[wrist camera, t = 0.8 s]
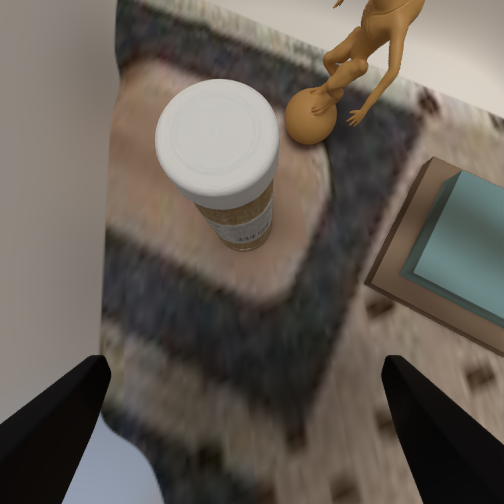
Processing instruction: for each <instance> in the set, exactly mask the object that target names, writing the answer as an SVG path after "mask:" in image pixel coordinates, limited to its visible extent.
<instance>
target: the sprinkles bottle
mask: <svg viewBox="0 0 504 504" xmlns="http://www.w3.org/2000/svg"><path fill="white" fill-rule="evenodd" d="M279 142H280V137H279V127H278V122H277V119H276V116H275V113H274V111H273V109H272V108H271V106H270V105H269V103H268V102H267V100H266V99H265V98H264V97H263V96H262V95H261V94H260V93H258V92H257V91H256V90H254V89H253V88H251V87H249V86H247V85H245V84H243V83H240V82H236V81H232V80H224V79H213V80H207V81H203V82H199V83H197V84H194V85H192V86H189V87H188V88H186V89H184V90H182V91H181V92H180V93H178V94H177V95H176V96H175V97H174V98H173V99H172V100H171V101H170V102H169V103H168V105H167V106H166V107H165V109H164V111H163V112H162V114H161V116H160V119H159V121H158V124H157V128H156V133H155V148H156V153H157V157H158V159H159V162H160V165H161V166H162V168H163V170H164V171H165V173H166V174H167V176H168V177H169V178H170V180H171V181H172V182H173V184H174V185H175V186H176V187H177V189H178V190H179V191H180V192H181V193H182V194H183V195H184V196H185V197H186V198H188V199H189V200H190V201H192V202H194V204H195V205H196V207H197V209H198V210H199V211H200V213H201V214H202V215H203V216H204V218H205V219H206V220H207V222H208V223H209V224H210V226H211V227H212V228H213V229H214V230H215V232H216V233H217V234H218V235H219V237H220V239H221V240H222V242H223V243H224V244H225V245H227V246H228V247H230V248H232V249H234V250H238V251H248V250H253V249H255V248H258V247H259V246H261V245H262V244H263V243H264V242H265V241H266V240H267V238H268V236H269V234H270V232H271V228H272V219H271V218H272V207H273V177H274V175H275V172H276V170H277V166H278V159H279Z"/></svg>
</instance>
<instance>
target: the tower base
mask: <svg viewBox="0 0 504 504" xmlns="http://www.w3.org/2000/svg"><path fill="white" fill-rule="evenodd" d="M364 284H365V285H367V286H369V287H371V288H372V289H374V290H376V291H378V292H380V293H382V294H384V295H386V296H388V297H390V298H391V299H393V300H395V301H397V302H399V303H401V304H403V305H405V306H407V307H409V308H410V309H412V310H414V311H416V312H418V313H420V314H422V315H424V316H426V317H428V318H429V319H431V320H433V321H435V322H437V323H439V324H441V325H443V326H445V327H447V328H449V329H450V330H452V331H454V332H456V333H458V334H460V335H462V336H464V337H466V338H468V339H469V340H471V341H473V342H475V343H477V344H479V345H481V346H483V347H485V348H487V349H488V350H490V351H492V352H494V353H496V354H498V355H500V356H502V357H504V188H502V187H500V186H498V185H495V184H493V183H491V182H489V181H487V180H484V179H482V178H480V177H478V176H476V175H473V174H471V173H469V172H467V171H465V170H463V169H460V168H458V167H456V166H454V165H452V164H449V163H447V162H445V161H443V160H441V159H438V158H436V157H434V156H433V157H432V158H431V159H430V160H428V161H427V162H426V163H425V164H424V165H423V166H422V168H421V170H420V172H419V174H418V176H417V178H416V180H415V182H414V184H413V186H412V188H411V190H410V192H409V194H408V196H407V198H406V200H405V202H404V204H403V206H402V208H401V210H400V212H399V214H398V216H397V218H396V220H395V222H394V224H393V226H392V228H391V230H390V232H389V234H388V236H387V238H386V240H385V242H384V244H383V246H382V248H381V250H380V252H379V254H378V256H377V258H376V260H375V263H374V265H373V267H372V269H371V271H370V273H369V275H368V277H367V279H366V281H365V283H364Z"/></svg>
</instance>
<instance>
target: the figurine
mask: <svg viewBox="0 0 504 504" xmlns="http://www.w3.org/2000/svg"><path fill="white" fill-rule="evenodd" d="M343 1H344V0H338V2H337V3H336V4H335V6H334V7H333V8H335V7H337V6H338V5H339V6H340V5H341V4H342V2H343ZM424 2H425V0H369V1H368V3H367V5H366V6H365V9H364V11H363V16H362V20H361V27H356V28H355V29H354V30H353V32H351V33H350V34H349V36H348V37H347V38H346V39H345V40H344V41H343V42H342V43H340V44H339V45H338V46H336V47H335V48H334V49H333V50H331V51H330V52H327V53H326V54H325V56H324V58H323V64H324V67H325V68H326V69H327V71H328V73H329V74H330V75H331V77H330V78H329V79H328V81H327V82H326V83H325V84H323V85H322V86H320V87H316V88H308V89H304V90H302V91H300V92H298V93H297V94H296V95H295V96H294V97H293V98H292V99H291V100H290V102H289V103H288V105H287V108H286V111H285V126H286V129H287V132H288V133H289V135H290V136H291V137H292V138H293V139H294V140H295V141H297V142H299V143H301V144H306V145H311V144H316V143H318V142H321V141H322V140H324V139H325V138H326V137H327V136H328V135H329V134H330V133H331V131H332V130H333V128H334V126H335V123H336V118H337V110H336V105H335V103H337V102H338V101H339V100H340V99H341V97H342V96H343V93H344V92H343V90H342V88H343V87H345V86H346V85H348V84H349V83H351V82H352V81H354V80H355V79H357V78H358V77H360V76H362V75H364V74H365V73H366V72H367V70H368V63H367V58H368V57H369V56H370V55H371V54H372V53H374V52H375V51H376V50H377V49H378V48H379V47H380V46H382V45H384V44H385V43H386V42H388V41H389V40H390V46H389V68H388V71H387V73H386V74H385V75H384V77H383V78H382V80H381V81H380V83H379V84H378V86H377V87H376V88H375V89H374V90H373V91H372V93H371V94H370V96H369V97H368V99H367V100H366V102H365V104H364V105H363V107H362V108H361V109H360V110H354V111H351V112H350V113H354V114H355V115H354V116H352V117H351V118H350V119H348V120H347V121H346V122H348V121H350V120H352V119H353V121H352V122H351V123H350V124H349V126H350V125H352V124H353V123H355V122H356V124H355V125H354V126H353V127H355V126H356V125H357V124H358V123H359V122H360V121H361V120H362V119H363V117H364V116H365V115H366V113H367V111H368V110H369V108H370V107H371V106H372V105H373V104H374V103H375V102H376V101H377V100H378V98H379V97H380V96H381V95H382V93H383V92H384V91H385V89H386V88H387V87H388V86H389V85H390V84H391V83H392V82H393V81H394V79H395V78H396V77H397V75H398V73H399V70H400V65H401V60H402V54H403V45H404V39H405V36H406V33H407V30H408V26H409V25H410V24H411V23H412V22H413V21H414V20H415V19H416V18H417V16H418V15H419V13H420V12H421V10H422V7H423V5H424ZM349 58H351V59H352V60H350V61H347V60H348V59H349ZM346 61H347V62H346ZM335 63H343V64H341V65H340V66H339V65H337V64H335ZM326 91H327V92H328V93H330V95H331V96H332V97H331V96H330V95H329V94H328V93H327V92H326Z"/></svg>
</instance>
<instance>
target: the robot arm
mask: <svg viewBox="0 0 504 504" xmlns="http://www.w3.org/2000/svg"><path fill="white" fill-rule="evenodd" d="M381 378H382V382H383V386H384V390H385V394H386V397H387V401H388V405H389V408H390V412H391V416H392V419H393V423H394V426H395V430H396V433H397V436H398V438H399V441H400V444H401V446H402V449H403V452H404V454H405V457H406V460H407V462H408V465H409V467H410V470H411V473H412V475H413V478H414V480H415V483H416V486H417V488H418V491H419V493H420V496H421V499H422V501H423V504H504V445H503V444H502V443H501V442H500V441H499V440H498V439H497V438H495V437H494V436H493V435H492V434H491V433H490V432H488V431H487V430H486V429H485V428H484V427H483V426H482V425H480V424H479V423H478V422H477V421H476V420H475V419H474V418H472V417H471V416H470V415H469V414H468V413H467V412H465V411H464V410H463V409H462V408H461V407H460V406H459V405H457V404H456V403H455V402H454V401H453V400H452V399H451V398H449V397H448V396H447V395H446V394H445V393H444V392H442V391H441V390H440V389H439V388H438V387H437V386H436V385H434V384H433V383H432V382H431V381H430V380H429V379H428V378H426V377H425V376H424V375H423V374H422V373H421V372H419V371H418V370H417V369H416V368H415V367H414V366H413V365H411V364H410V363H409V362H408V361H407V360H406V359H405V358H403V357H402V356H400V355H388V356H386V358H385V361H384V365H383V369H382V373H381ZM110 380H111V370H110V368H109V365H108V363H107V360H106V358H105V357H104V356H103V355H91V356H89V357H87V358H86V359H85V360H84V361H82V362H81V363H80V364H78V365H77V366H76V367H74V368H73V369H72V370H70V371H69V372H68V373H67V374H65V375H64V376H63V377H61V378H60V379H59V380H57V381H56V382H55V383H54V384H52V385H51V386H50V387H48V388H47V389H46V390H44V391H43V392H42V393H40V394H39V395H38V396H37V397H35V398H34V399H33V400H31V401H30V402H29V403H27V404H26V405H25V406H23V407H22V408H21V409H20V410H18V411H17V412H16V413H14V414H13V415H12V416H10V417H9V418H8V419H7V420H5V421H4V422H3V423H1V424H0V504H61V503H62V501H63V499H64V497H65V494H66V492H67V490H68V488H69V485H70V483H71V481H72V479H73V476H74V474H75V471H76V469H77V467H78V465H79V462H80V460H81V458H82V456H83V453H84V451H85V449H86V447H87V444H88V442H89V439H90V438H91V435H92V433H93V430H94V428H95V425H96V422H97V419H98V416H99V413H100V410H101V407H102V404H103V401H104V398H105V395H106V392H107V389H108V386H109V383H110Z"/></svg>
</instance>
